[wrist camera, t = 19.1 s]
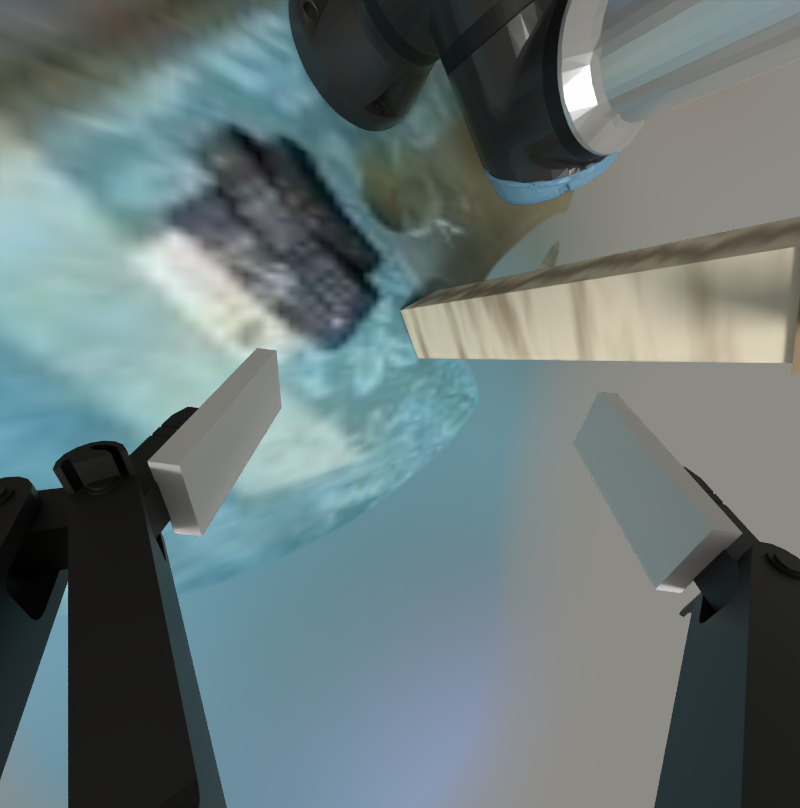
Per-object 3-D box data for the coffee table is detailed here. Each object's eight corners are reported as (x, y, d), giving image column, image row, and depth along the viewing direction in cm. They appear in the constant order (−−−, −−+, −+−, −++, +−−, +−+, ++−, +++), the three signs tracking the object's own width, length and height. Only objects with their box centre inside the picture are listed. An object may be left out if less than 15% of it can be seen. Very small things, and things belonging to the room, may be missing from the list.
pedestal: (416, 362, 49) (830, 375, 20) (396, 307, 45) (853, 230, 17) (453, 338, 52) (843, 319, 24) (436, 286, 49) (863, 192, 21)
